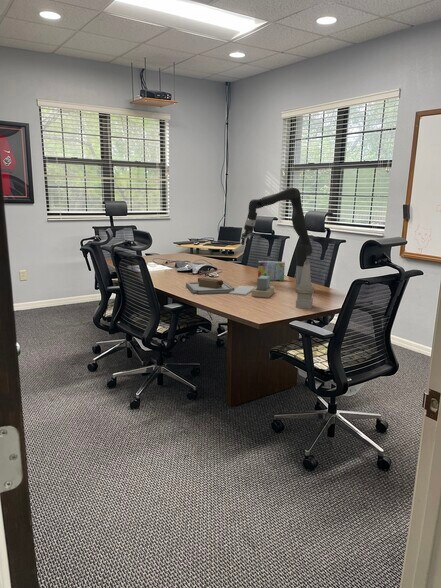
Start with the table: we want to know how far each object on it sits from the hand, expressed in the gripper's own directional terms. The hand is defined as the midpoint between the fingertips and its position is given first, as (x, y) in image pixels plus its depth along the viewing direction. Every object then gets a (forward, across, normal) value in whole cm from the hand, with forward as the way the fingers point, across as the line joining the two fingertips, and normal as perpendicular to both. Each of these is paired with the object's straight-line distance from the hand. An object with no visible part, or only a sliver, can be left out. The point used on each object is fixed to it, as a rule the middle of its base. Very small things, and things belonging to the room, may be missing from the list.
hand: (244, 244), depth 348 cm
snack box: (+24, +12, -26) cm, 37 cm away
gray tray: (+30, -47, -2) cm, 56 cm away
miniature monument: (+10, -58, -74) cm, 94 cm away
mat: (+23, -39, -24) cm, 52 cm away
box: (+19, -41, -40) cm, 60 cm away
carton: (+19, -41, -40) cm, 60 cm away
